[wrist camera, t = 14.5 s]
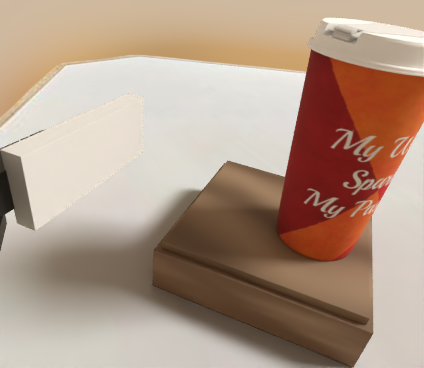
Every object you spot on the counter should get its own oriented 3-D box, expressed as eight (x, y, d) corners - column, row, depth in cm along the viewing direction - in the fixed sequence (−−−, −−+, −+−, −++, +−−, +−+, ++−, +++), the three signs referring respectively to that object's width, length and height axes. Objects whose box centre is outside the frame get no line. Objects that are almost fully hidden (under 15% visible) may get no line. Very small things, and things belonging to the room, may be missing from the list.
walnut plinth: (220, 191, 36) (225, 157, 34) (358, 235, 33) (374, 200, 31) (152, 285, 25) (154, 243, 23) (353, 367, 21) (377, 326, 19)
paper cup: (308, 288, 21) (404, 45, 14) (242, 213, 27) (284, 12, 19) (392, 255, 25) (505, 48, 17) (318, 195, 30) (379, 19, 23)
